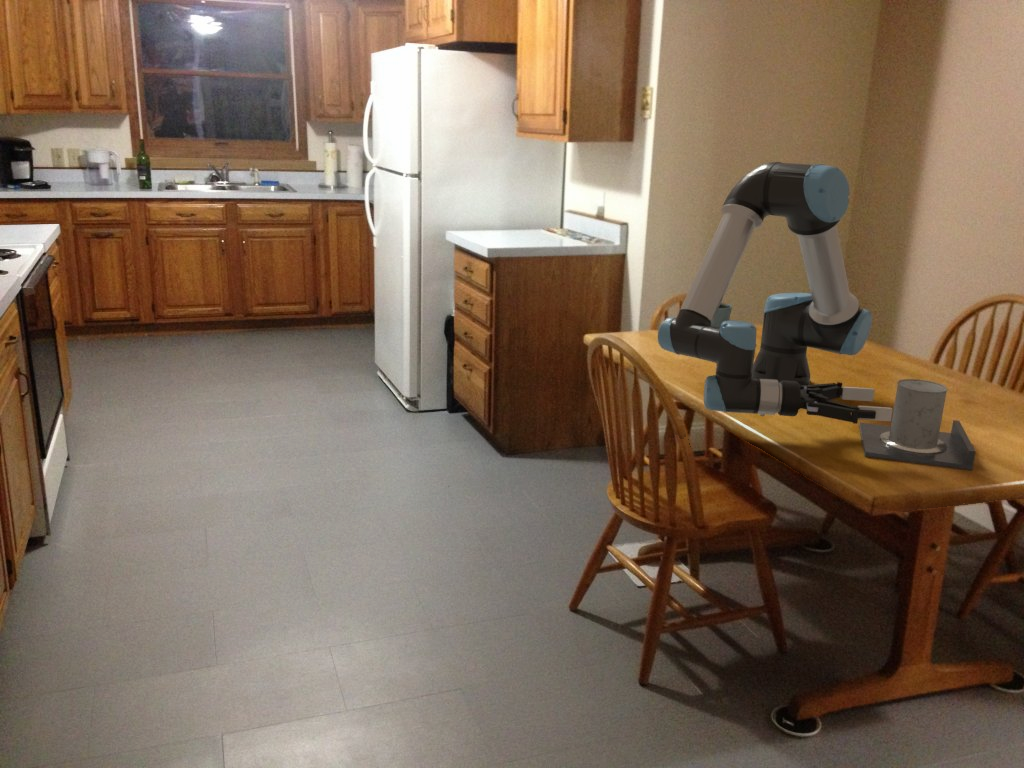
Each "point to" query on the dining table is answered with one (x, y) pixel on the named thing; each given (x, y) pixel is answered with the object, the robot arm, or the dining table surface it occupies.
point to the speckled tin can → (917, 413)
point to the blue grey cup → (722, 315)
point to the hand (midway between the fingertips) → (882, 404)
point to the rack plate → (948, 452)
